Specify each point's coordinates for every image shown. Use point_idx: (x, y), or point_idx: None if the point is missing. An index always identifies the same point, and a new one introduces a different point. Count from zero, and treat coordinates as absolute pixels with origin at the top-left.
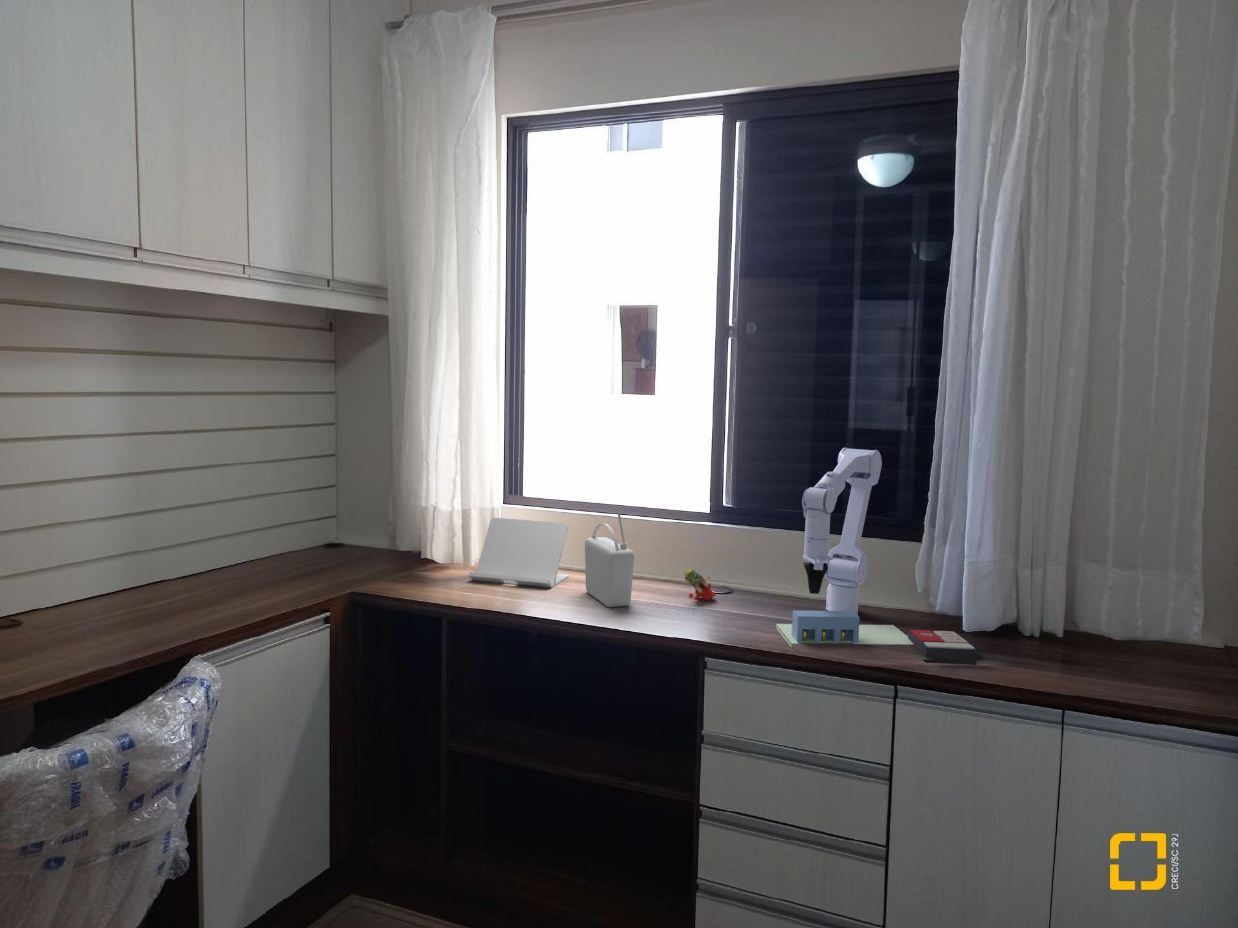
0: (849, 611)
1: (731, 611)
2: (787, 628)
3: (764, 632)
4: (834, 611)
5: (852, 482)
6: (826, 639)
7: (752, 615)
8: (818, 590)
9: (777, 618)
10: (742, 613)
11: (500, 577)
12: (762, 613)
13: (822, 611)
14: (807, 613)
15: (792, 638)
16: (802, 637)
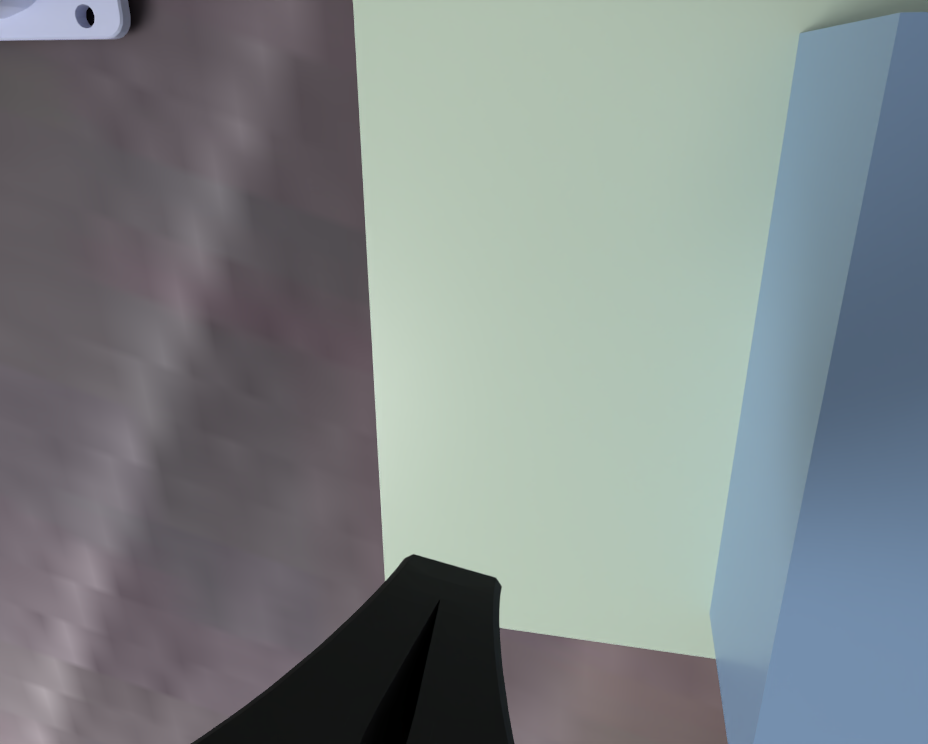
0: (920, 91)
1: (53, 711)
2: (510, 574)
3: (514, 696)
4: (870, 356)
5: None
6: None
7: (111, 628)
8: (497, 629)
9: (146, 495)
10: (80, 668)
11: None
12: (45, 552)
13: (842, 525)
14: (906, 729)
15: None
16: None
